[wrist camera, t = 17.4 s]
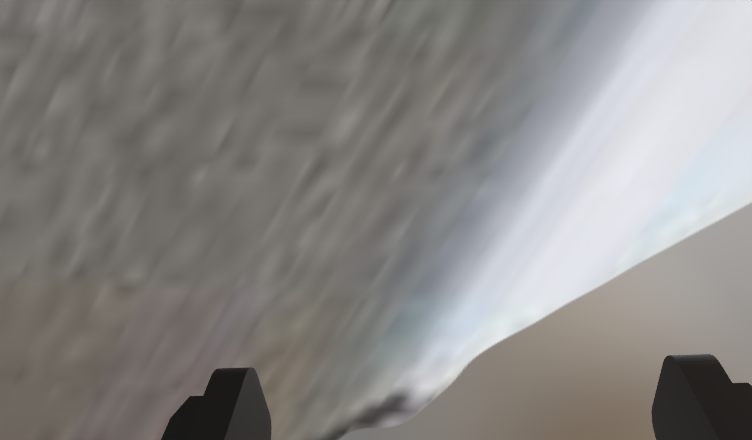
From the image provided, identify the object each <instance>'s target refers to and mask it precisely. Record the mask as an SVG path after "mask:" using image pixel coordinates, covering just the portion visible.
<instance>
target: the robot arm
mask: <svg viewBox="0 0 752 440" xmlns="http://www.w3.org/2000/svg"><path fill="white" fill-rule="evenodd" d="M652 423H653V429H654V433H655V437H656V440H752V386H751V385H750V384H749V383H732V382H731V380H730V379H729V377H728V375H727V374H726V372H725V371H724V369H723V367H722V366H721V364H720V363H719V361H718V360H717V359H716V358H715V357H714V356H713V355H710V354H701V355H670V356H667V357H666V358H665V359H664V362H663V366H662V369H661V374H660V377H659V382H658V386H657V390H656V394H655V398H654V402H653V406H652ZM161 440H271V418H270V413H269V410H268V407H267V404H266V401H265V397H264V394H263V391H262V388H261V385H260V382H259V379H258V376H257V373H256V371H255V369H254V368H223V369H216V370H215V371H214V372H213V374H212V376H211V378H210V380H209V383H208V385H207V388H206V390H205V393H204V396H190V397H189V398H188V399H187V400H186V401H185V402H184V404H183V405H182V406H181V407H180V408H179V409H178V410H177V411H176V413H175V414H174V415H173V416H172V417H171V418H170V421H169V423H168V425H167V427H166V430H165V432H164V434H163V436H162V439H161Z"/></svg>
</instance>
